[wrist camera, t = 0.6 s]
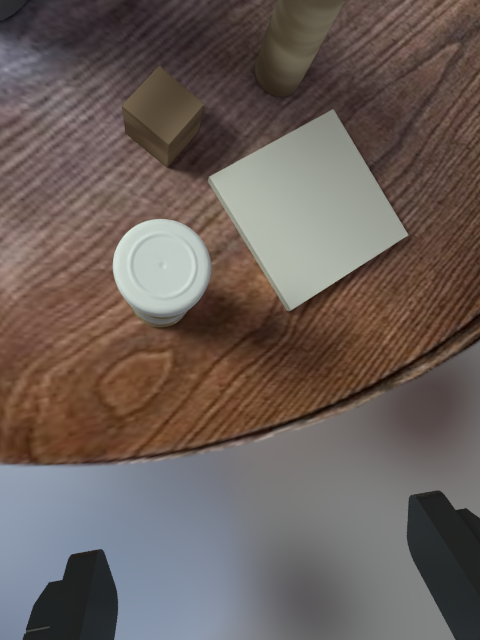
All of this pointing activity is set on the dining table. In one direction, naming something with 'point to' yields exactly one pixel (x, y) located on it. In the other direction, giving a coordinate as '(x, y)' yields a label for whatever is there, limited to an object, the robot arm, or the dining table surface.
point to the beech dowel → (293, 43)
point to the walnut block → (162, 116)
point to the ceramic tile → (308, 209)
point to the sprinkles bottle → (161, 270)
